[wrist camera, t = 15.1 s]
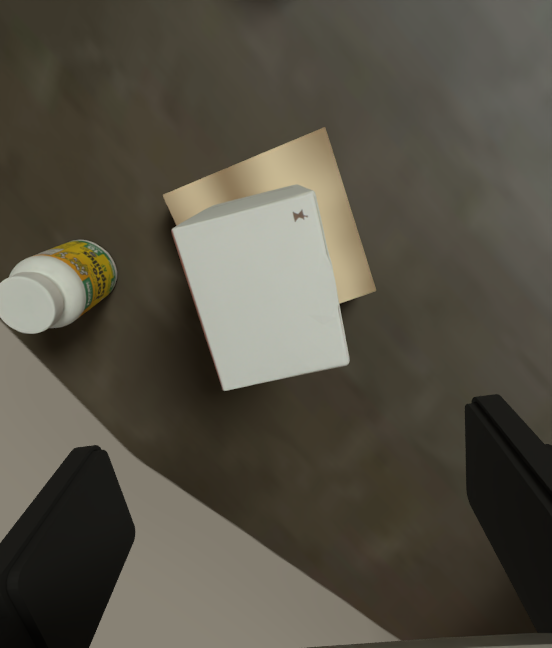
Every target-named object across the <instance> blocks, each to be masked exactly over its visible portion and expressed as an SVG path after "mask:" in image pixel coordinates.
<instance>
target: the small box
mask: <svg viewBox="0 0 552 648" xmlns="http://www.w3.org/2000/svg"><path fill="white" fill-rule="evenodd" d="M171 233H172V236H173V239H174V242H175V245H176V248H177V251H178V255H179V258H180V261H181V264H182V267H183V270H184V273H185V276H186V279H187V282H188V285H189V288H190V291H191V295H192V298H193V301H194V304H195V307H196V310H197V313H198V316H199V319H200V322H201V325H202V329H203V332H204V335H205V338H206V341H207V344H208V347H209V350H210V353H211V356H212V359H213V362H214V365H215V368H216V371H217V374H218V377H219V380H220V383H221V386H222V390H223V391H228V390H232V389H236V388H241V387H246V386H250V385H254V384H259V383H264V382H269V381H274V380H278V379H283V378H288V377H293V376H298V375H303V374H307V373H312V372H317V371H322V370H327V369H332V368H337V367H342V366H346V365H348V364H349V354H348V348H347V343H346V337H345V332H344V327H343V321H342V316H341V310H340V305H339V299H338V294H337V288H336V282H335V277H334V272H333V267H332V262H331V259H330V256H329V252H328V248H327V244H326V239H325V234H324V230H323V225H322V220H321V216H320V211H319V207H318V202H317V198H316V194H315V192H314V191H313V190H310V189H308V188H305V187H303V186H300V185H298V184H296V185H291V186H287V187H283V188H279V189H275V190H271V191H267V192H263V193H259V194H255V195H251V196H248V197H244V198H240V199H236V200H232V201H228V202H224V203H220V204H216V205H213V206H211V207H209V208H207V209H205V210H203V211H201V212H200V213H198V214H196V215H194V216H193V217H191V218H189V219H187V220H186V221H184V222H182V223H180V224H179V225H177V226H176V227H174V228H173V229H172V230H171Z"/></svg>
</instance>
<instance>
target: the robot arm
mask: <svg viewBox="0 0 552 648" xmlns="http://www.w3.org/2000/svg"><path fill="white" fill-rule="evenodd" d="M465 440H466V489H467V496H468V500H469V503H470V505H471V507H472V509H473V511H474V513H475V515H476V517H477V519H478V521H479V522H480V524H481V526H482V528H483V530H484V532H485V534H486V536H487V538H488V539H489V541H490V543H491V545H492V547H493V549H494V551H495V553H496V555H497V557H498V558H499V560H500V562H501V564H502V566H503V568H504V570H505V572H506V574H507V575H508V577H509V579H510V581H511V583H512V585H513V587H514V589H515V591H516V593H517V594H518V596H519V598H520V600H521V602H522V604H523V606H524V608H525V610H526V611H527V613H528V615H529V617H530V619H531V621H532V623H533V625H534V627H535V628H536V630H537V632H538V633H526V634H507V635H488V636H469V637H450V638H435V639H421V640H407V641H393V642H379V643H365V644H351V645H336V646H322V647H310V648H552V445H549V444H544V443H543V442H542V441H541V440H540V439H539V438H538V437H537V435H536V434H535V433H534V432H533V431H532V430H531V429H530V428H529V427H528V426H527V424H526V423H525V422H524V421H523V420H522V419H521V418H520V417H519V416H518V415H517V414H516V412H515V411H514V410H513V409H512V408H511V407H510V406H509V405H508V404H507V403H506V401H505V400H504V399H503V398H502V397H501V396H500V395H498V394H495V395H487V396H479V397H474V398H473V399H472V403H471V404H466V406H465ZM134 538H135V526H134V523H133V521H132V518H131V515H130V513H129V510H128V507H127V504H126V502H125V499H124V496H123V493H122V491H121V488H120V485H119V483H118V480H117V477H116V475H115V472H114V469H113V466H112V464H111V461H110V458H109V456H108V453H107V452H106V451H105V450H101V448H100V447H99V446H97V445H94V446H86V447H78V448H74V449H73V450H72V451H71V452H70V454H69V455H68V456H67V458H66V459H65V460H64V461H63V463H62V464H61V465H60V467H59V468H58V469H57V470H56V472H55V473H54V475H53V476H52V477H51V478H50V480H49V481H48V482H47V483H46V485H45V486H44V487H43V489H42V490H41V491H40V492H39V494H38V495H37V496H36V498H35V499H34V500H33V502H32V503H31V504H30V505H29V507H28V508H27V509H26V511H25V512H24V513H23V514H22V516H21V517H20V518H19V520H18V521H17V522H16V523H15V525H14V526H13V527H12V529H11V530H10V531H9V533H8V534H7V535H6V536H5V538H4V539H3V540H2V542H1V543H0V648H89V646H90V644H91V642H92V639H93V637H94V634H95V632H96V630H97V627H98V625H99V622H100V620H101V618H102V615H103V613H104V611H105V608H106V606H107V604H108V601H109V599H110V597H111V594H112V592H113V589H114V587H115V585H116V582H117V580H118V578H119V575H120V573H121V570H122V568H123V566H124V563H125V561H126V559H127V556H128V554H129V551H130V549H131V547H132V544H133V542H134Z"/></svg>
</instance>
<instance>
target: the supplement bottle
mask: <svg viewBox="0 0 552 648" xmlns="http://www.w3.org/2000/svg"><path fill="white" fill-rule="evenodd" d="M116 280H117V270H116V266H115V263H114V261H113V259H112V258H111V256H110V255H109V253H108V252H107V251H105V250H104V249H103V248H101V247H100V246H99V245H97V244H95V243H93V242H90V241H87V240H74V241H70V242H68V243H65V244H62V245H60V246H57V247H54V248H52V249H49V250H47V251H44V252H42V253H39V254H37V255H34V256H31V257H29V258H27V259H24V260H23V261H21V262H20V263H18V264H17V265H16V266H15V267H14V269H13V270H12V272H11V274H10V276H9V278H7V279H5V280H3V281H2V282H1V283H0V317H1V319H2V320H3V321H4V322H5V323H6V324H7V325H8V326H10V327H11V328H13V329H15V330H17V331H19V332H22V333H28V334H35V333H40V332H42V331H45V330H47V329H48V328H59V327H63V326H66V325H69V324H71V323H72V322H74V321H75V320H77V319H78V318H79V317H80V316H82V315H83V314H84V313H86V312H87V311H88V310H89V309H91V308H92V307H93V306H95V305H96V304H97V303H99V302H100V301H101V300H102V299H104V298H105V297H106V296H107V295H108V294H109V293H110V292H111V291H112V290H113V288H114V286H115V284H116Z"/></svg>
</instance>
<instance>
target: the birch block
mask: <svg viewBox="0 0 552 648" xmlns="http://www.w3.org/2000/svg"><path fill="white" fill-rule="evenodd" d="M296 184H298V185H300V186H303V187H305V188H308V189H310V190H313V191H314V192H315V194H316V198H317V202H318V207H319V211H320V216H321V220H322V225H323V230H324V234H325V239H326V244H327V248H328V252H329V256H330V259H331V262H332V267H333V272H334V277H335V282H336V288H337V294H338V299H339V304H340V303H343V302H346V301H349V300H351V299H354V298H357V297H360V296H363V295H366V294H368V293H371V292H374V291H376V288H375V285H374V282H373V278H372V275H371V272H370V269H369V266H368V262H367V259H366V256H365V253H364V250H363V246H362V243H361V240H360V237H359V234H358V231H357V227H356V224H355V221H354V218H353V215H352V211H351V208H350V205H349V202H348V199H347V195H346V192H345V189H344V186H343V183H342V180H341V176H340V173H339V170H338V167H337V164H336V160H335V157H334V154H333V151H332V148H331V144H330V141H329V138H328V135H327V132H326V129H325V127H324V128H322V129H319V130H317V131H315V132H312V133H310V134H307V135H305V136H303V137H300V138H298V139H295V140H293V141H291V142H288V143H286V144H283V145H281V146H279V147H276V148H274V149H272V150H269V151H267V152H264V153H262V154H260V155H257V156H255V157H252V158H250V159H248V160H245V161H243V162H240V163H238V164H236V165H233V166H231V167H229V168H226V169H224V170H221V171H219V172H217V173H214V174H212V175H209V176H207V177H205V178H202V179H200V180H197V181H195V182H193V183H190V184H188V185H186V186H183V187H181V188H178V189H176V190H174V191H171V192H169V193H166V194H164V195H163V197H164V199H165V201H166V204H167V206H168V208H169V210H170V212H171V215H172V217H173V219H174V221H175V223H176V225H179V224H180V223H182V222H184V221H186V220H187V219H189V218H191V217H193V216H194V215H196V214H198V213H200V212H201V211H203V210H205V209H207V208H209V207H211V206H213V205H216V204H220V203H224V202H228V201H232V200H236V199H240V198H244V197H248V196H251V195H255V194H259V193H263V192H267V191H271V190H275V189H279V188H283V187H287V186H291V185H296Z"/></svg>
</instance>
